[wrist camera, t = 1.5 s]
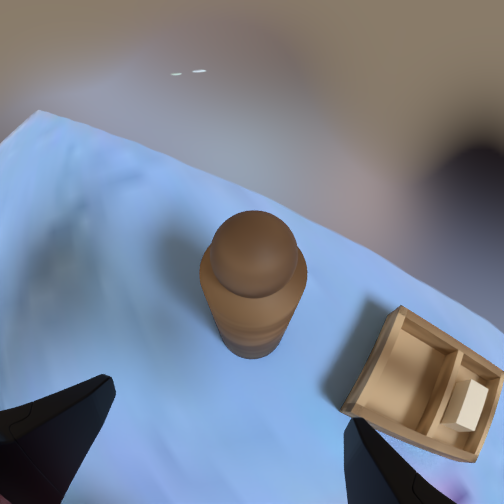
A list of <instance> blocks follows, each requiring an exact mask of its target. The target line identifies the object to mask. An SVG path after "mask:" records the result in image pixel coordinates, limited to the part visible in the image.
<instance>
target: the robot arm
mask: <svg viewBox="0 0 504 504" xmlns="http://www.w3.org/2000/svg"><path fill="white" fill-rule="evenodd" d="M115 395H116V390H115V386H114V382H113V379H112V377H110V376H108V375H105V374H101V375H98V376H96V377H93V378H91V379H89V380H86V381H84V382H81V383H79V384H77V385H74V386H72V387H69V388H67V389H64V390H62V391H59V392H57V393H54V394H51V395H49V396H46V397H44V398H41V399H38V400H36V401H34V402H30V403H27V404H24V405H21V406H18V407H15V408H11V409H7V410H3V411H0V504H61V502H62V500H63V498H64V495H65V493H66V492H67V490H68V488H69V486H70V484H71V482H72V480H73V478H74V476H75V474H76V473H77V471H78V469H79V467H80V465H81V463H82V462H83V460H84V458H85V456H86V454H87V453H88V451H89V449H90V447H91V445H92V444H93V442H94V440H95V438H96V437H97V435H98V433H99V431H100V430H101V428H102V426H103V424H104V422H105V419H106V417H107V415H108V412H109V410H110V408H111V405H112V403H113V401H114V398H115ZM344 473H345V481H346V490H347V499H348V504H457V503H455V502H454V501H452V500H451V499H449V498H448V497H447V496H445V495H444V494H442V493H441V492H440V491H438V490H437V489H436V488H434V487H433V486H432V485H431V484H429V483H428V482H427V481H426V480H425V479H424V478H423V477H422V476H421V475H420V474H419V473H418V472H416V471H415V470H414V469H413V468H412V467H411V466H410V465H409V464H408V463H407V462H406V461H405V460H404V459H403V458H402V457H401V456H400V455H399V454H398V453H397V452H396V451H395V450H394V449H393V448H392V447H391V446H390V445H389V444H388V443H387V442H386V441H385V440H384V438H383V437H382V436H381V435H380V434H379V433H378V432H377V431H376V430H375V429H374V428H373V427H372V426H371V425H370V424H369V423H368V422H367V421H366V420H365V419H364V418H363V417H353V418H351V420H350V422H349V423H348V425H347V427H346V429H345V431H344Z"/></svg>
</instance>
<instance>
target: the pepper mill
mask: <svg viewBox="0 0 504 504" xmlns="http://www.w3.org/2000/svg"><path fill="white" fill-rule="evenodd" d="M199 274H200V283H201V286H202V289H203V292H204V295H205V297H206V300H207V302H208V305H209V307H210V310H211V312H212V315H213V317H214V320H215V322H216V324H217V327H218V329H219V332H220V334H221V336H222V339H223V341H224V343H225V345H226V346H227V348H228V349H229V350H230V351H231V352H232V353H234V354H235V355H237V356H239V357H242V358H245V359H258V358H262V357H265V356H267V355H268V354H270V353H271V352H273V351H274V350H275V349H276V347H277V346H278V344H279V343H280V341H281V339H282V337H283V334H284V332H285V330H286V328H287V326H288V324H289V322H290V320H291V318H292V316H293V314H294V311H295V309H296V307H297V305H298V303H299V301H300V299H301V296H302V294H303V292H304V289H305V286H306V282H307V266H306V262H305V259H304V256H303V254H302V252H301V251H300V249H299V248H298V246H297V243H296V240H295V238H294V235H293V233H292V232H291V230H290V229H289V227H288V226H287V225H286V224H285V223H284V222H283V221H282V220H281V219H279V218H278V217H276V216H274V215H272V214H270V213H267V212H263V211H245V212H241V213H238V214H236V215H234V216H232V217H230V218H229V219H227V220H226V221H225V222H224V223H223V224H222V225H221V226H220V227H219V229H218V230H217V231H216V233H215V235H214V237H213V240H212V243H211V244H210V246H209V247H208V248H207V250H206V251H205V253H204V255H203V258H202V260H201V264H200V272H199Z"/></svg>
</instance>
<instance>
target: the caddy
mask: <svg viewBox="0 0 504 504" xmlns="http://www.w3.org/2000/svg"><path fill="white" fill-rule="evenodd" d="M469 379H472V380H474V381H476V382H477V383H479V384H481V385H482V386H484V387H486V388H487V389H488V393H487V396H486V400H485V403H484V406H483V409H482V412H481V415H480V418H479V420H478V423H477V426H476V428H475V431H469V432H458V431H456V430H454V429H451V428H449V427H447V426H444V425H442V424H441V422H442V419H443V417H444V414H445V412H446V409H447V407H448V404H449V402H450V399H451V396H452V394H453V391H454V388H455V385H456V383H458V382H462V381H466V380H469ZM503 382H504V371H502V370H501V369H500V368H498V367H497V366H495V365H494V364H492V363H491V362H489V361H488V360H486V359H485V358H483V357H482V356H480V355H479V354H477V353H476V352H474V351H473V350H471V349H470V348H468V347H467V346H465V345H464V344H462V343H461V342H459V341H457V340H456V339H454V338H453V337H451V336H450V335H448V334H447V333H445V332H443V331H442V330H440V329H439V328H437V327H436V326H434V325H432V324H431V323H429V322H428V321H426V320H424V319H423V318H421V317H420V316H418V315H416V314H415V313H413V312H412V311H410V310H408V309H407V308H405V307H404V306H402V305H401V306H399V307H398V308H397V309H395V310H394V311H393V312H392V313H390V314H389V315H388V316H387V318H386V320H385V323H384V325H383V327H382V330H381V332H380V334H379V336H378V339H377V341H376V343H375V345H374V347H373V349H372V352H371V354H370V356H369V358H368V360H367V362H366V364H365V366H364V368H363V370H362V372H361V374H360V375H359V377H358V379H357V381H356V383H355V385H354V387H353V388H352V390H351V392H350V394H349V395H348V397H347V399H346V401H345V402H344V404H343V406H342V407H341V409H340V411H339V412H341V413H343V414H345V415H347V416H349V417H351V418H353V417H363V418H364V419H365V420H366V421H367V422H368V423H369V424H370V425H371V426H372V427H373V428H374V429H376V430H378V431H380V432H383V433H385V434H387V435H389V436H392V437H394V438H396V439H399V440H401V441H403V442H406V443H408V444H411V445H413V446H416V447H418V448H421V449H423V450H426V451H429V452H431V453H434V454H437V455H440V456H443V457H446V458H449V459H452V460H455V461H458V462H468V463H475V462H476V460H477V458H478V455H479V453H480V451H481V449H482V446H483V444H484V441H485V439H486V436H487V434H488V431H489V428H490V426H491V423H492V420H493V417H494V414H495V411H496V407H497V404H498V401H499V397H500V393H501V390H502V386H503Z"/></svg>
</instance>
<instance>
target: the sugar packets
mask: <svg viewBox="0 0 504 504" xmlns="http://www.w3.org/2000/svg"><path fill="white" fill-rule="evenodd" d="M487 393H488V389H487V388H486V387H484V386H482V385H481V384H479V383H477V382H476V381H474V380H472V379H469V380H466V381H462V382H458V383H456V385H455V388H454V391H453V394H452V396H451V399H450V402H449V404H448V407H447V409H446V412H445V414H444V417H443V419H442V422H441V424H442V425H444V426H447V427H449V428H451V429H454V430H456V431H458V432H469V431H475V428H476V426H477V423H478V420H479V418H480V415H481V412H482V409H483V406H484V403H485V400H486V396H487Z"/></svg>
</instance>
